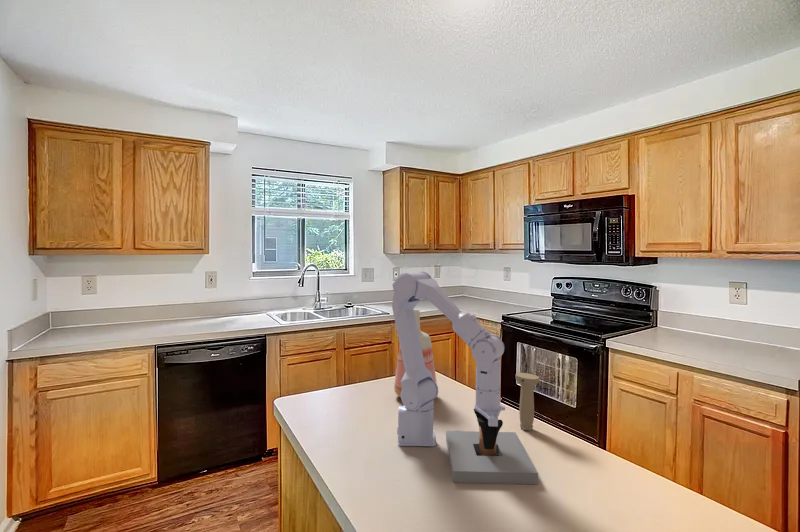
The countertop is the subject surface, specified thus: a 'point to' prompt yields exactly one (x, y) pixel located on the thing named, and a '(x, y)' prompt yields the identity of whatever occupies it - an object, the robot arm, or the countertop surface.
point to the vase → (427, 355)
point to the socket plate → (489, 460)
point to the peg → (482, 450)
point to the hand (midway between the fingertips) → (487, 443)
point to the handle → (527, 399)
